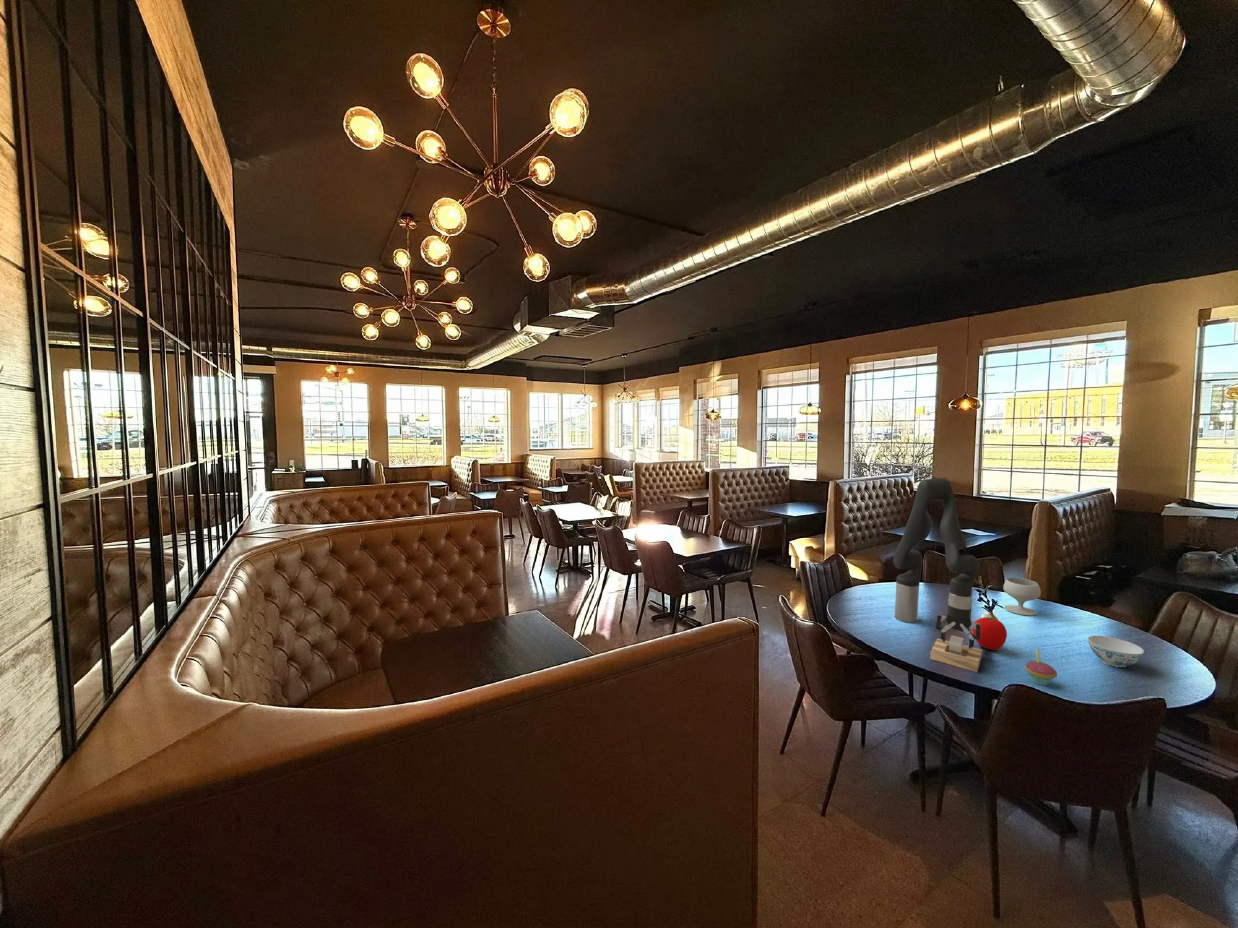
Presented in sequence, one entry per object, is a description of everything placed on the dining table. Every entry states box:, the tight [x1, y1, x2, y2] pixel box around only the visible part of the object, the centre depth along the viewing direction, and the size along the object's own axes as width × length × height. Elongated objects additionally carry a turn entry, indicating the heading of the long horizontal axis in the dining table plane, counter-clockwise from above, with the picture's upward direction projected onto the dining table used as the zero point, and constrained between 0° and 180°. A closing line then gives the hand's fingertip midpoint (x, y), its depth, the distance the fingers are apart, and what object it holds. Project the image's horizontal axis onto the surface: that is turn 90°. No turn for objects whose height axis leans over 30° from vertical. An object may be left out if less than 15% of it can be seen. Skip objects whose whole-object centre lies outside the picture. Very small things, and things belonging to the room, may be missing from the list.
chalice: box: [1002, 577, 1042, 617], centre depth 233 cm, size 14×14×15 cm
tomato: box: [972, 616, 1008, 651], centre depth 196 cm, size 11×11×13 cm
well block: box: [929, 638, 983, 673], centre depth 189 cm, size 15×15×3 cm
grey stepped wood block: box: [948, 634, 965, 656], centre depth 189 cm, size 7×4×8 cm, turn 138°
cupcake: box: [1024, 647, 1058, 686], centre depth 171 cm, size 9×8×12 cm
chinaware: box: [1087, 635, 1145, 668], centre depth 184 cm, size 15×15×8 cm
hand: (956, 644), depth 189 cm, fingers open, 8 cm apart
